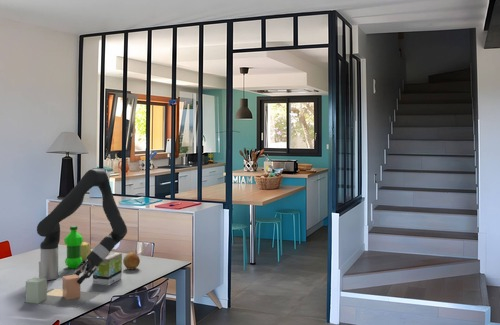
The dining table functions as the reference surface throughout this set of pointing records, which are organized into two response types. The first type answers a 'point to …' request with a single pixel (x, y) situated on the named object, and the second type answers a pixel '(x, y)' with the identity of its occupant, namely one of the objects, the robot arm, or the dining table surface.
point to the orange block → (71, 287)
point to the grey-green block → (36, 290)
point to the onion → (131, 260)
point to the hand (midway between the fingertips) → (75, 281)
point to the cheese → (85, 250)
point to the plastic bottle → (73, 248)
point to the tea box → (108, 270)
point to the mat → (57, 299)
